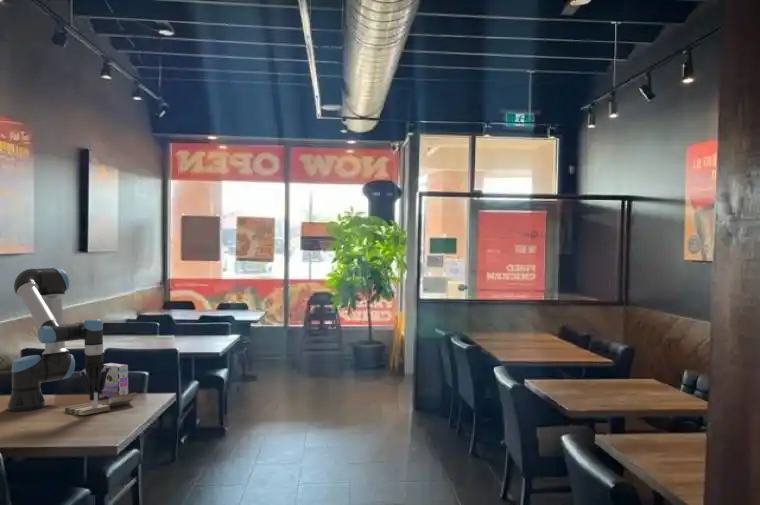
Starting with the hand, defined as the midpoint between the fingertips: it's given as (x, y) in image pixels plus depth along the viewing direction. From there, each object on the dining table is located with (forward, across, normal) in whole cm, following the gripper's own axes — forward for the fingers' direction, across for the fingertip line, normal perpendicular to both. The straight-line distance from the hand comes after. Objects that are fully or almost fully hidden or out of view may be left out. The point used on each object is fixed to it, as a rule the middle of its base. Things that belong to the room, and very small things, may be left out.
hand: (94, 407), depth 281 cm
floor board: (+3, +7, +11) cm, 13 cm away
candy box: (+3, +22, +24) cm, 32 cm away
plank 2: (+1, +14, +3) cm, 14 cm away
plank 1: (+3, 0, +2) cm, 3 cm away
